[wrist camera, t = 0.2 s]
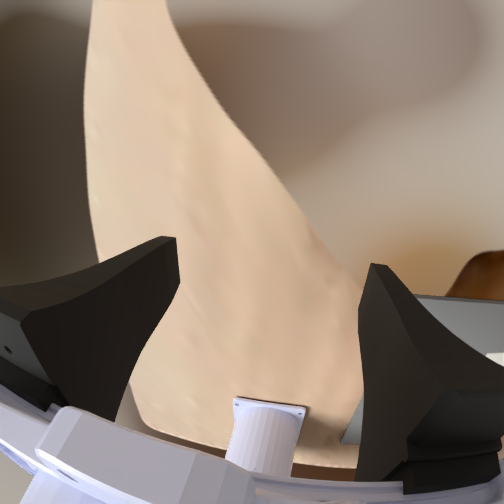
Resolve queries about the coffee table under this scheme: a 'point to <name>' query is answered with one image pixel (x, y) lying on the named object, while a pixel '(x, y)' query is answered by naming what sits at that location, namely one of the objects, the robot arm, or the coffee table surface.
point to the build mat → (464, 327)
